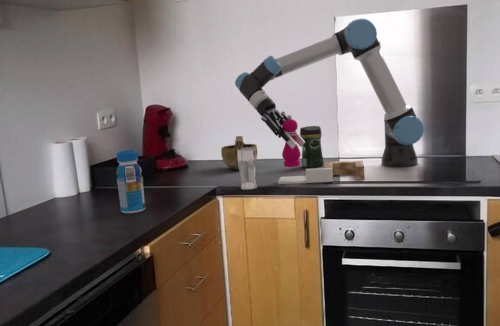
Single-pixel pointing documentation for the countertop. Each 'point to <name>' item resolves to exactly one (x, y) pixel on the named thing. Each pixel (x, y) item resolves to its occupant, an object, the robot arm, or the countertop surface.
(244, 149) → the beer glass
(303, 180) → the plate
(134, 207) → the beverage bottle
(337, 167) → the block
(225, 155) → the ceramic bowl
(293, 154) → the pepper mill
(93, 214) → the countertop surface
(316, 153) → the coffee jar
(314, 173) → the white rectangular block
